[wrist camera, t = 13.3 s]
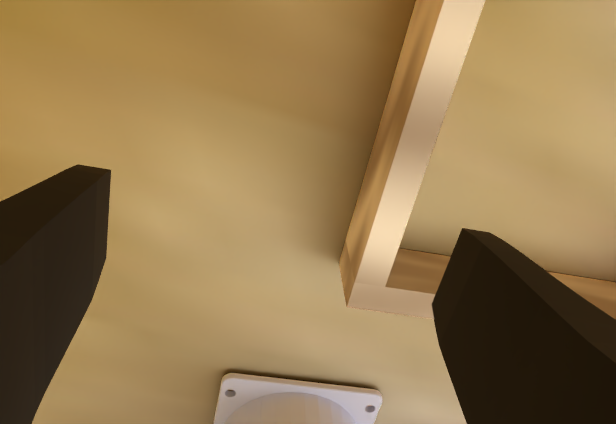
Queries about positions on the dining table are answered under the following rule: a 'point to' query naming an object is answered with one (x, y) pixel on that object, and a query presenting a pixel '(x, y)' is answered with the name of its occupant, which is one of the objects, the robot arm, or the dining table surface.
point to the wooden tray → (417, 172)
